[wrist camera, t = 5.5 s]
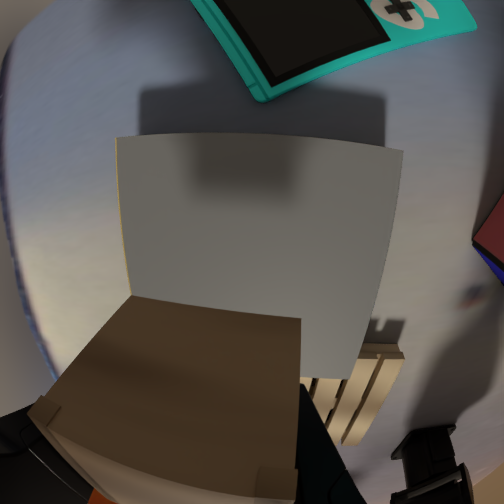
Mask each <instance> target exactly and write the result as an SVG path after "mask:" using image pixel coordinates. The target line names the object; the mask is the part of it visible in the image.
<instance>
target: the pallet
mask: <svg viewBox="0 0 504 504" xmlns="http://www.w3.org/2000/svg"><path fill="white" fill-rule="evenodd" d="M404 361H405V358H404V355H403V352H400V350H399V347H398V344H377V343H362V346H361V349H360V352H359V355H358V358H357V361H356V363H355V366H354V369H353V372H352V374H351V377H350V379H344V382H343V385H342V388H340V387H339V385H340V382H341V380H342V379H324V378H317V380H316V383H315V386H310V385H311V381H312V378H308V377H300V383H303V384H304V385H305V386H306V388H307V390H308V392H309V394H310V396H311V398H312V400H313V402H314V404H315V406H316V408H317V410H318V412H319V414H320V417H321V419H322V421H323V423H324V425H325V427H326V429H327V431H328V433H329V435H330V437H331V439H332V441H333V443H334V445H335V446H337V444H338V442H339V440H340V439H341V438H342V439H341V444H342V446H353V445H358V444H359V442H360V441H361V439H362V437H363V436H364V434H365V433H366V431H367V429H368V428H369V426H370V425H371V423H372V421H373V420H374V418H375V416H376V414H377V413H378V411H379V409H380V407H381V406H382V404H383V402H384V400H385V398H386V397H387V395H388V393H389V391H390V389H391V387H392V385H393V383H394V381H395V379H396V377H397V375H398V373H399V371H400V369H401V367H402V365H403V363H404ZM374 369H375V371H374V373H373V370H374ZM372 373H373V376H372V378H371V380H370V377H371V375H372ZM369 380H370V383H369V385H368V387H367V388H366V386H367V384H368V382H369ZM330 409H333V410H332V413H331V415H330V418H329V420H326V419H327V416H328V414H329V411H330ZM356 409H357V410H356ZM355 410H356V412H355ZM354 412H355V414H354ZM353 414H354V416H353ZM352 416H353V418H352ZM351 418H352V420H351Z"/></svg>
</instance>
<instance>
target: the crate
mask: <svg viewBox="0 0 504 504" xmlns="http://www.w3.org/2000/svg"><path fill="white" fill-rule="evenodd" d="M300 363H301V318H293V317H283V316H273V315H264V314H255V313H247V312H238V311H231V310H223V309H215V308H208V307H201V306H194V305H188V304H181V303H175V302H169V301H162V300H156V299H151V298H145V297H139V296H134V295H131V296H130V297H129V298H128V299H127V300H126V301H125V303H124V304H123V305H122V306H121V307H120V308H119V309H118V310H117V311H116V312H115V313H114V315H113V316H112V317H111V318H110V319H109V320H108V321H107V322H106V324H105V325H104V326H103V327H102V328H101V329H100V330H99V331H98V333H97V334H96V335H95V336H94V337H93V338H92V339H91V341H90V342H89V343H88V344H87V345H86V346H85V348H84V349H83V350H82V351H81V352H80V353H79V355H78V356H77V357H76V358H75V359H74V361H73V362H72V363H71V364H70V365H69V366H68V368H67V369H66V370H65V371H64V373H63V374H62V375H61V376H60V377H59V379H58V380H57V381H56V382H55V384H54V385H53V386H52V387H51V389H50V390H49V391H48V393H47V394H46V395H45V396H42V395H41V396H40V397H39V398H38V400H37V401H36V402H35V403H34V405H33V406H32V407H31V409H30V410H29V411H28V412H27V415H28V416H29V417H30V419H31V420H32V421H33V422H34V424H35V425H36V426H37V428H38V429H39V430H40V431H41V433H42V434H43V435H44V436H45V437H46V439H47V440H48V441H49V442H50V443H51V444H52V446H53V447H54V448H55V449H56V450H57V451H58V452H59V453H60V455H61V456H62V457H63V458H64V459H65V460H66V461H67V462H68V463H69V464H70V465H71V466H72V467H73V468H74V469H75V470H76V471H77V472H78V473H79V474H80V475H81V476H82V477H83V478H84V479H85V480H86V481H87V482H88V483H90V484H91V485H92V486H93V487H94V488H95V489H96V490H97V491H98V492H100V493H101V494H102V495H103V496H104V497H105V498H107V499H109V500H111V501H113V502H115V503H118V504H293V503H294V502H295V498H296V488H297V476H298V469H295V457H296V444H297V429H298V411H299V390H300Z"/></svg>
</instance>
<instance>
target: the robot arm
mask: <svg viewBox="0 0 504 504" xmlns="http://www.w3.org/2000/svg"><path fill="white" fill-rule="evenodd" d="M33 405H34V403H33V404H31V405H29V406H27V407H25V408H22V409H20V410H18V411H15V412H13V413H10V414H8V415H5V416H3V417H0V504H88V501H89V499H90V497H91V494H92V492H93V490H94V487H93V486H92V485H91V484H90V483H88V482H87V481H86V480H85V479H84V478H83V477H82V476H81V475H80V474H79V473H78V472H77V471H76V470H75V469H74V468H73V467H72V466H71V465H70V464H69V463H68V462H67V461H66V460H65V459H64V458H63V457H62V456H61V455H60V453H59V452H58V451H57V450H56V449H55V448H54V447H53V446H52V444H51V443H50V442H49V441H48V440H47V439H46V437H45V436H44V435H43V434H42V433H41V431H40V430H39V429H38V428H37V426H36V425H35V424H34V422H33V421H32V420H31V419H30V417H29V416H28V415H27V412H28V411H29V410H30V409H31V407H32V406H33ZM455 429H456V425H455V424H454V425H448V426H443V427H436V428H430V429H423V430H415V431H412V432H410V433H409V435H408V436H407V437H406V439H405V440H404V441H403V442H402V443H401V445H400V446H399V447H398V448H397V450H396V451H395V452H394V453H393V454H392V455H391V460H397V459H402V462H403V468H404V474H405V481H406V488H407V489H405V490H403V491H400V492H397V493H396V492H395V493H392V494H391V500H390V504H474V497H473V490H472V483H471V479H470V475H469V472H468V469H467V467H466V466H465V464H464V462H463V463H461V464H459V466H457V465H456V461H455V458H454V456H455V453H454V449H453V446H452V442H451V439H450V435H451V434H452V433H453V431H454V430H455ZM295 469H298V476H297V488H296V498H295V502H294V503H293V504H367V503H366V501H365V500H364V498H363V497H362V495H361V494H360V492H359V491H358V489H357V487H356V485H355V484H354V482H353V480H352V478H351V476H350V474H349V472H348V470H345V469H346V466H345V464H344V462H343V460H342V459H341V457H340V455H339V453H338V451H337V449H336V447H335V445H334V443H333V441H332V439H331V437H330V435H329V433H328V431H327V429H326V427H325V425H324V423H323V421H322V419H321V417H320V414H319V412H318V410H317V408H316V406H315V404H314V402H313V400H312V398H311V396H310V394H309V392H308V390H307V388H306V386H305V385H304V384H303V383H300V390H299V411H298V429H297V444H296V457H295ZM461 478H462V481H460V482H457V480H459V479H461Z"/></svg>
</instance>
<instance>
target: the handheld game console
mask: <svg viewBox="0 0 504 504" xmlns="http://www.w3.org/2000/svg"><path fill="white" fill-rule="evenodd" d="M190 1H191V2H192V4H193V5H194V6H195V10H196V11H197V12H198V14H199V15H200V17H201V18H202V19H203V21H205V22H206V23H207V25H208V26H209V28H210V29H211V31H212V32H213V34H214V35H215V37H216V38H217V40H218V41H219V43H220V44H221V46H222V47H223V49H224V50H225V52H226V54H227V55H228V57H229V58H230V60H231V61H232V63H233V65H234V66H235V68H236V69H237V71H238V73H239V74H240V76H241V77H242V79H243V81H244V82H245V84H246V86H247V87H248V88H249V91H250V92H251V94H252V96H253V97H254V99H255V100H256V101H258V102H260V103H265V102H268V101H270V100H272V99H274V98H276V97H278V96H280V95H282V94H284V93H286V92H288V91H291V90H293V89H295V88H297V87H299V86H301V85H304V84H306V83H308V82H310V81H313V80H315V79H317V78H320V77H322V76H325V75H327V74H329V73H332V72H334V71H337V70H339V69H342V68H344V67H347V66H350V65H352V64H355V63H358V62H360V61H363V60H366V59H369V58H372V57H375V56H378V55H381V54H384V53H387V52H390V51H393V50H397V49H400V48H403V47H407V46H410V45H414V44H418V43H421V42H425V41H429V40H433V39H437V38H442V37H446V36H451V35H456V34H461V33H466V32H472V31H474V30H476V29H477V24H476V22H475V20H474V19H473V17H472V15H471V14H470V12H469V10H468V9H467V7H466V6H465V4H464V3H463V1H462V0H190Z"/></svg>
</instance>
